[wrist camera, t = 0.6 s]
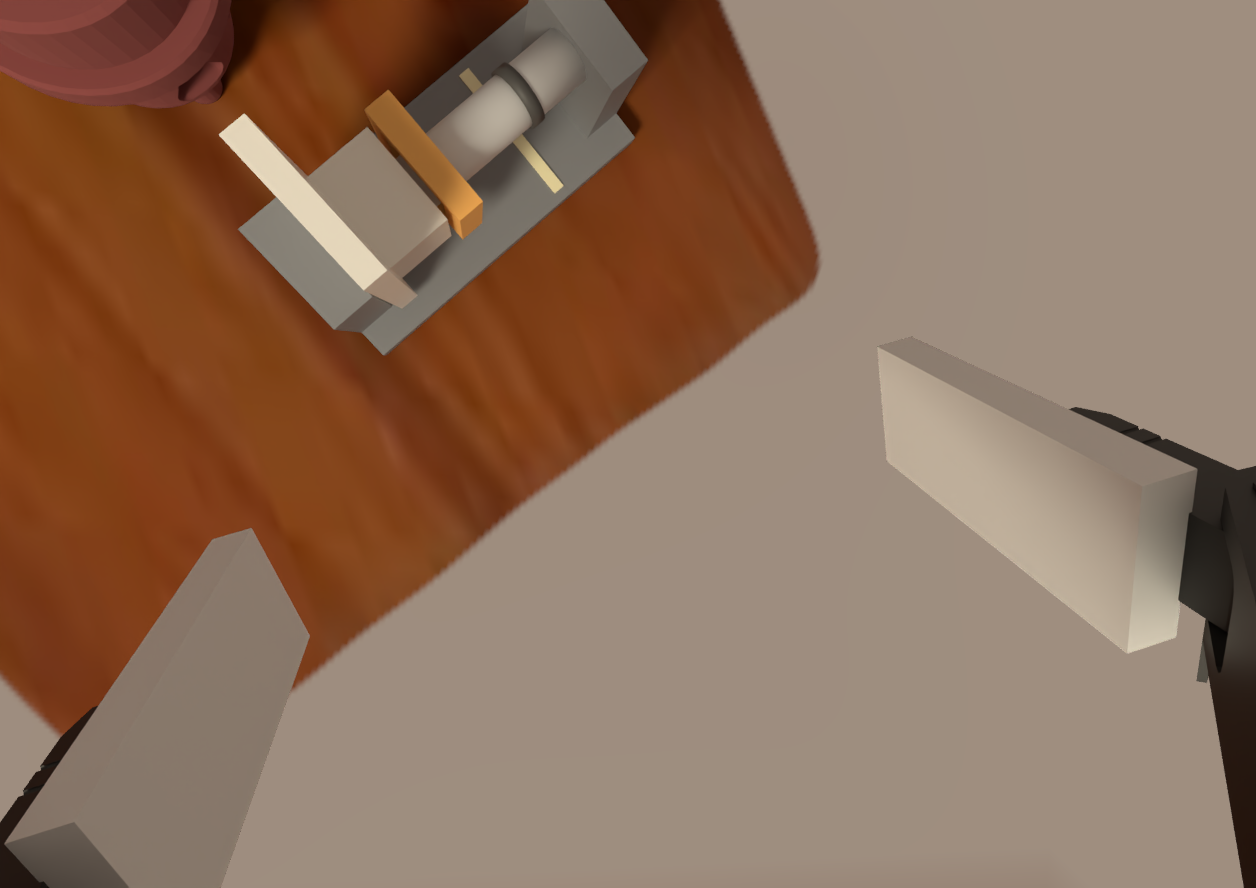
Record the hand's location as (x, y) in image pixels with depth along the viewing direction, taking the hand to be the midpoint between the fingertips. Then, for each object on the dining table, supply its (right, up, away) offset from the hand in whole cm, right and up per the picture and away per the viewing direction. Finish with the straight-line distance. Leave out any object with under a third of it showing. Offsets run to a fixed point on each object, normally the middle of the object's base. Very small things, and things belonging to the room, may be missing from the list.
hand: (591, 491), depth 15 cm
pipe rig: (-8, +14, +22) cm, 27 cm away
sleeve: (-11, +11, +19) cm, 25 cm away
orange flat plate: (-8, +13, +18) cm, 23 cm away
